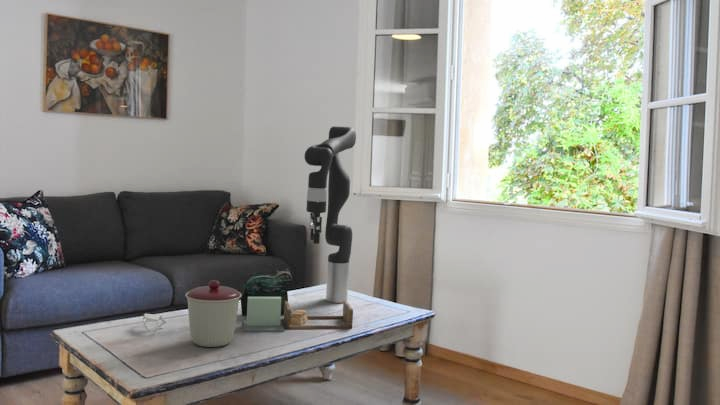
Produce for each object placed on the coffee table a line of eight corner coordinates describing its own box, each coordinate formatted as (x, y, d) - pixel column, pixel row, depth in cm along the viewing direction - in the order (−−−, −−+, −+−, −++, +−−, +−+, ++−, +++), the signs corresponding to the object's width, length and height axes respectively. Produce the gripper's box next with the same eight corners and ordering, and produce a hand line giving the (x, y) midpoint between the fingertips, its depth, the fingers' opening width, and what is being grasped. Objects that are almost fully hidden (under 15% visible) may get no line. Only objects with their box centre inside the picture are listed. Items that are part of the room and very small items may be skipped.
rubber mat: (243, 320, 240) (243, 319, 240) (280, 320, 243) (280, 319, 243) (244, 331, 227) (244, 330, 227) (284, 331, 230) (284, 329, 230)
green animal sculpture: (289, 311, 257) (291, 262, 255) (292, 315, 251) (294, 265, 249) (239, 313, 251) (241, 262, 249) (241, 317, 245) (243, 265, 243)
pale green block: (246, 323, 235) (247, 296, 234) (279, 323, 238) (280, 296, 237) (247, 325, 232) (248, 298, 231) (280, 325, 235) (281, 298, 234)
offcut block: (296, 320, 246) (296, 308, 245) (307, 321, 245) (307, 310, 244) (289, 325, 238) (290, 314, 237) (301, 327, 237) (301, 315, 237)
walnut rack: (283, 318, 247) (284, 300, 246) (345, 318, 252) (346, 300, 251) (287, 329, 233) (288, 310, 232) (352, 328, 238) (353, 310, 237)
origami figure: (173, 330, 224) (173, 316, 224) (154, 335, 217) (154, 321, 217) (149, 323, 231) (149, 310, 230) (130, 328, 223) (130, 314, 223)
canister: (251, 342, 215) (253, 280, 213) (210, 355, 200) (212, 289, 198) (213, 331, 225) (215, 272, 223) (172, 342, 210) (174, 279, 208)
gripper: (304, 197, 251) (302, 238, 252) (309, 201, 237) (307, 244, 238) (323, 198, 252) (321, 239, 254) (329, 201, 239) (327, 244, 240)
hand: (314, 241), depth 246 cm, fingers open, 8 cm apart
